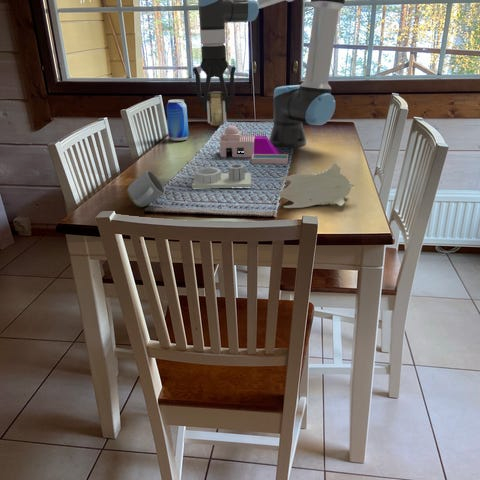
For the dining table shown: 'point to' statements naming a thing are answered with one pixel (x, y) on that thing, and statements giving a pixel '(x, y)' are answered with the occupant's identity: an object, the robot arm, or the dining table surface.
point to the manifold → (222, 177)
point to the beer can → (177, 119)
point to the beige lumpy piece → (316, 188)
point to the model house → (250, 147)
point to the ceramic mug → (145, 189)
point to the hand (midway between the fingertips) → (217, 121)
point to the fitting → (216, 108)
